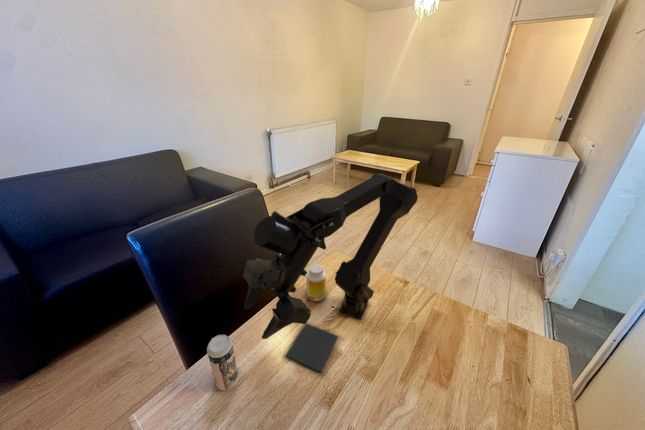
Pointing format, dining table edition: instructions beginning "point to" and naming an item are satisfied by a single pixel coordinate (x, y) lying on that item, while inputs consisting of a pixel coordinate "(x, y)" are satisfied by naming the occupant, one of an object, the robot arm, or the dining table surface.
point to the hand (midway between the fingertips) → (254, 322)
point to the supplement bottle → (316, 282)
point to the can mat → (312, 347)
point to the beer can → (223, 362)
